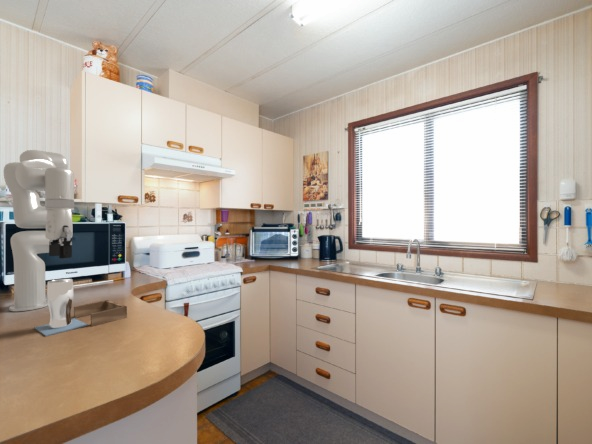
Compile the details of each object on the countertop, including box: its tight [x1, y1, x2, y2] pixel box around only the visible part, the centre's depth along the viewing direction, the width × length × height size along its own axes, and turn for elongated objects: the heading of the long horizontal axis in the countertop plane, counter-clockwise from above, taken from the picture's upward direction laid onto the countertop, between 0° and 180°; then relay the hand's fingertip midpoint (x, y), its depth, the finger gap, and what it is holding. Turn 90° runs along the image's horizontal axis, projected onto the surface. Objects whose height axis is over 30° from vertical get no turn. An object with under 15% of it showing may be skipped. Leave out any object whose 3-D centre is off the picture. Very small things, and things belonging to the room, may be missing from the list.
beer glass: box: [46, 278, 75, 329], centre depth 96 cm, size 7×7×15 cm
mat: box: [33, 317, 89, 337], centre depth 96 cm, size 12×11×1 cm
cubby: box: [73, 299, 128, 327], centre depth 106 cm, size 16×11×4 cm
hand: (60, 256), depth 96 cm, fingers open, 9 cm apart
